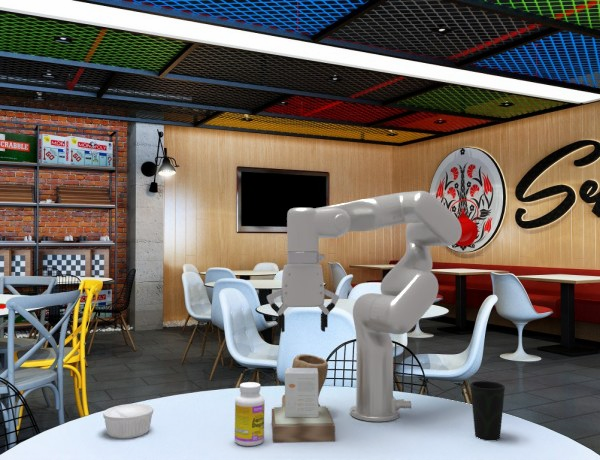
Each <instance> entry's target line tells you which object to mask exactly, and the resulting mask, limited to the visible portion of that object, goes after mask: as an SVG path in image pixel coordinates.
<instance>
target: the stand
mask: <svg viewBox="0 0 600 460" xmlns="http://www.w3.org/2000/svg"><path fill="white" fill-rule="evenodd" d="M271 430H272V431H271V434H272V443H306V442H307V443H308V442H309V443H314V442H315V443H317V442H335V441H336V425H335V422H334V420H333V418H332V416H331V412H330V410H329V408H328V407H327V406H326V405H325V406H323V405H322V406H321V405H320V407H319V408H318V417H285V407H283V406H275V407H273V408H271Z"/></svg>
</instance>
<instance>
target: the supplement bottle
mask: <svg viewBox="0 0 600 460" xmlns="http://www.w3.org/2000/svg"><path fill="white" fill-rule="evenodd" d="M239 392H240V394H239V395H238V396H236V397H235V400H234V441H235V443H236V444H237V445H240V446H242V447H243V446H244V447H254V446H258V445H260V444H262V443H263V442H264V440H265V398H264V396H263V395H261V394H260V392H261V384H260V383H259V382H253V381H252V382H251V381H248V382H242V383H240V384H239Z"/></svg>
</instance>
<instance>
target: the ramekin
mask: <svg viewBox="0 0 600 460" xmlns="http://www.w3.org/2000/svg"><path fill="white" fill-rule="evenodd" d="M102 414H103V419H104V424H105V429H106V433H107V434H108V436H109V437H111V438H114V439H123V440H125V439H133V438H137V437H140V436H143V435H145V434H146V433H148V431H149V430H150V428H151V422H152V416H153V414H154V408H153V406H150V405H148V404H145V403H143V404H142V403H126V404H120V405H115V406H112V407H109V408H107V409H106V410H104V412H103V413H102Z"/></svg>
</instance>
